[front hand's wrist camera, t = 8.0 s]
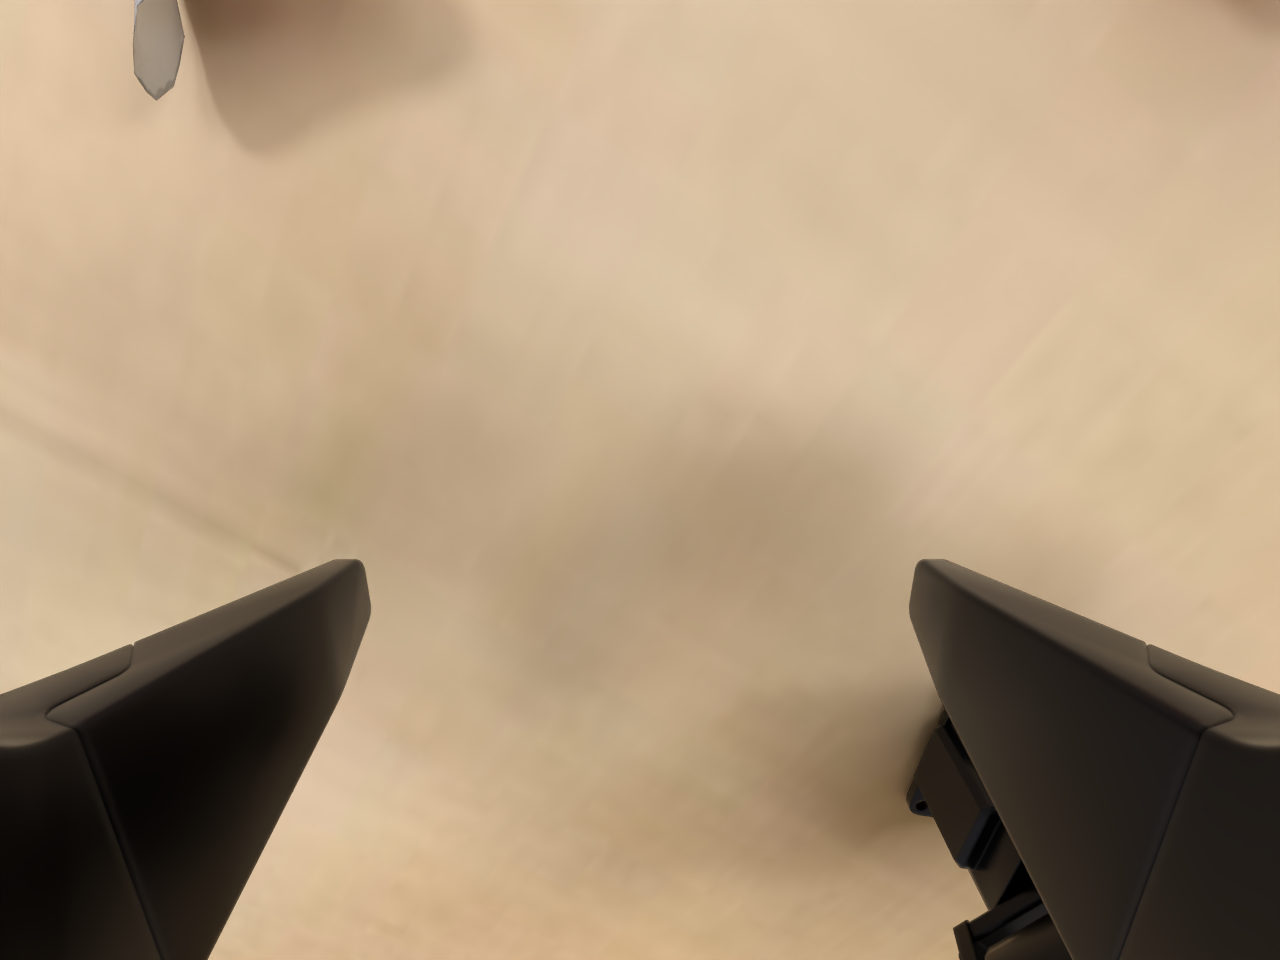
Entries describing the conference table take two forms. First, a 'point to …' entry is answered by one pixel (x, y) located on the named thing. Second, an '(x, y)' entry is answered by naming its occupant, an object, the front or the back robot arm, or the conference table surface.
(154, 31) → the fish
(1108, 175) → the conference table surface
